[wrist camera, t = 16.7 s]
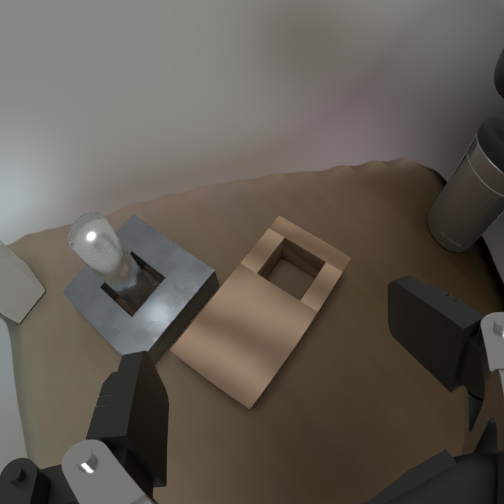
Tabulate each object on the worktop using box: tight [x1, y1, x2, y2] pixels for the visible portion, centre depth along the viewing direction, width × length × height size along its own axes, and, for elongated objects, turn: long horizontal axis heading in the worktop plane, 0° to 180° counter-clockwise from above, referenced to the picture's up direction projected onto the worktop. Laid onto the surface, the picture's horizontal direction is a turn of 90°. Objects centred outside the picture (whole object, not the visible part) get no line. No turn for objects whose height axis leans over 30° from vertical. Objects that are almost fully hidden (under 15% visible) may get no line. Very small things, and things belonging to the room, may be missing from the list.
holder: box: [63, 214, 219, 365], centre depth 36 cm, size 14×14×4 cm
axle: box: [68, 212, 156, 311], centre depth 31 cm, size 4×4×16 cm
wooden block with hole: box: [170, 216, 351, 409], centre depth 35 cm, size 20×10×5 cm, turn 144°
